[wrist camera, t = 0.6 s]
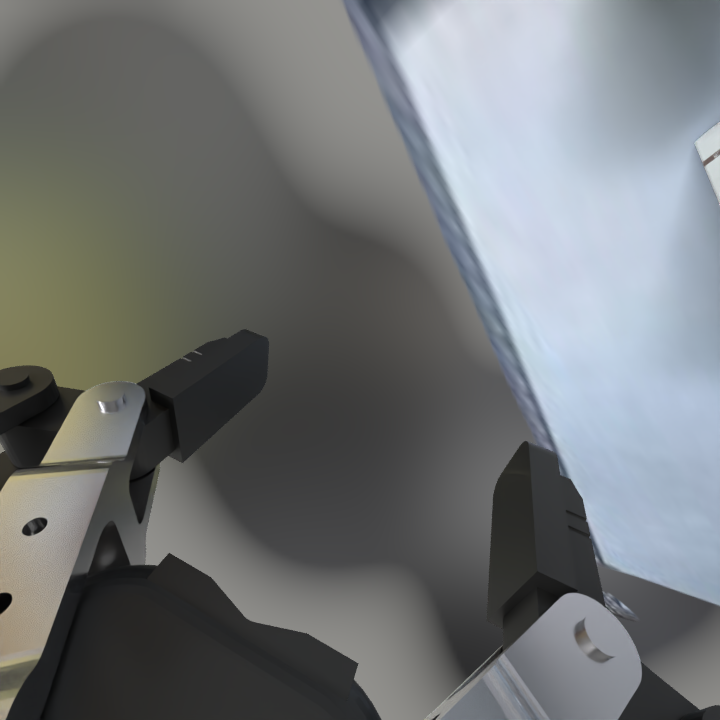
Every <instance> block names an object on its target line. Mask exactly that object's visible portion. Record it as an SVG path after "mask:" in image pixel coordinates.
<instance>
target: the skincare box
mask: <svg viewBox="0 0 720 720" xmlns="http://www.w3.org/2000/svg"><path fill="white" fill-rule="evenodd" d="M695 146H696V149H697V151H698V153H699V156H700V158H701V161H702V163H703V166H704V168H705V171H706V173H707V175H708V178H709V180H710V183H711V185H712V187H713V190H714V192H715V194H716V197H717V199H718V202H719V205H720V122H719V123H717V124H716V125H715V126H713V127H712V128H711V129H709V130H708V131H707V132H706V133H705V134H703V135H702V136H701V137H700V138H699V139H697V141H696V142H695Z"/></svg>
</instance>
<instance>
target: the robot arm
mask: <svg viewBox="0 0 720 720" xmlns="http://www.w3.org/2000/svg"><path fill="white" fill-rule="evenodd" d="M268 353H269V341H268V339H267V338H266V337H264V336H262V335H259V334H257V333H254V332H252V331H249V330H246V329H243V330H241V331H239V332H238V333H236V334H234V335H233V336H231V337H229V338H228V339H227V338H221V339H218V340H215V341H210V342H207V343H206V344H204V345H202V346H200V347H199V348H197V349H195V350H194V352H190V353H188V354H187V355H185V356H183V358H182V359H179V360H176V361H175V362H173V363H171V364H170V365H168V366H166V367H165V368H163V369H161V370H159V371H158V372H156V373H154V374H153V375H151V376H149V377H147V378H146V379H144V380H142V381H141V382H139V383H137V384H135V383H131V382H126V381H114V382H108V383H103V384H100V385H97V386H94V387H92V388H90V389H88V390H86V391H83V390H77V389H70V388H63V387H58V386H57V385H56V382H55V379H54V377H53V374H52V373H51V371H49V370H48V369H46V368H43V367H39V366H16V367H10V368H6V369H2V370H0V443H1V445H2V447H3V448H4V450H5V451H4V452H2V453H1V454H0V720H381V718H380V716H379V714H378V713H377V711H376V709H375V707H374V705H373V703H372V702H371V701H370V699H369V698H368V696H367V695H366V693H365V692H364V691H363V689H362V688H361V687H360V686H359V685H358V684H357V683H356V681H355V680H354V676H355V673H356V669H357V666H358V663H356V662H355V661H353V660H351V659H350V658H348V657H346V656H344V655H343V654H341V653H339V652H337V651H336V650H334V649H332V648H331V647H329V646H327V645H326V644H324V643H322V642H320V641H319V640H317V639H315V638H314V637H312V636H310V635H309V634H307V633H302V632H297V631H293V630H288V629H283V628H278V627H274V626H269V625H264V624H260V623H255V622H252V621H249V620H248V619H246V618H245V617H244V616H243V614H242V613H241V612H240V611H239V610H238V609H237V608H236V606H235V605H234V604H233V603H232V601H231V600H230V599H229V598H228V597H227V596H226V594H225V593H224V592H223V591H222V590H221V589H220V588H219V586H218V585H217V584H216V583H215V581H214V580H213V579H212V578H211V577H209V576H208V575H206V574H204V573H202V572H201V571H199V570H197V569H196V568H194V567H192V566H191V565H189V564H187V563H186V562H184V561H182V560H180V559H179V558H177V557H175V556H173V555H172V554H170V553H169V554H168V555H167V556H166V557H165V558H164V559H163V560H162V562H161V563H160V564H159V565H158V566H156V565H145V561H146V532H147V527H148V522H149V518H150V513H151V509H152V504H153V500H154V495H155V491H156V486H157V481H158V477H159V472H160V462H161V461H162V460H164V459H165V458H166V457H167V456H170V457H172V458H174V459H176V460H178V461H180V462H182V463H183V462H184V461H185V460H186V459H187V458H189V457H190V456H191V455H192V454H193V453H194V452H195V451H196V450H197V449H199V448H200V447H201V446H202V445H203V444H204V443H205V442H206V441H207V440H208V439H210V438H211V437H212V436H213V435H214V434H215V433H216V432H217V431H218V430H219V429H221V428H222V427H223V426H224V425H225V424H226V423H227V422H228V421H229V420H230V419H232V418H233V417H234V416H235V415H236V414H237V413H238V412H239V411H240V410H241V409H243V408H244V407H245V406H246V405H247V404H248V403H249V402H250V401H251V400H252V399H253V398H255V397H256V396H257V395H258V394H259V393H260V392H261V390H262V389H263V387H264V385H265V383H266V379H267V371H268ZM586 519H587V518H586V513H585V509H584V504H583V499H582V498H581V496H580V494H579V493H578V491H577V489H576V488H575V486H574V484H573V483H572V481H571V479H568V478H566V477H563V476H561V475H560V471H559V465H558V458H557V455H556V453H555V452H553V451H550V450H548V449H545V448H543V447H540V446H538V445H535V444H533V443H530V442H528V441H524V442H523V443H522V444H521V445H520V447H519V448H518V450H517V451H516V453H515V454H514V456H513V457H512V459H511V460H510V461H509V463H508V465H507V466H506V468H505V469H504V471H503V472H502V473H501V475H500V477H499V479H498V481H497V483H496V486H495V490H494V494H493V510H492V527H491V528H492V529H491V548H490V566H489V583H488V602H487V603H488V604H487V621H488V622H490V623H492V624H494V625H496V626H498V627H500V628H501V629H503V646H501V647H500V648H499V649H498V650H497V651H496V652H495V653H494V654H493V655H492V656H491V657H489V658H488V659H487V660H486V661H485V662H484V663H483V664H482V665H481V666H480V667H479V668H478V669H477V670H476V671H475V672H474V673H473V674H472V675H471V676H470V677H469V678H468V679H466V680H465V682H463V683H462V685H460V686H459V687H458V688H457V689H456V690H455V691H454V692H453V693H452V694H451V695H450V696H449V697H448V698H447V699H446V700H445V701H443V702H442V703H441V704H440V705H439V706H438V707H437V708H436V709H435V710H434V711H433V712H431V714H429V715H428V716H427V717H426V718H425V719H424V720H720V706H719V705H715V706H711V707H708V708H705V709H702V710H699V709H698V708H697V707H696V706H694V705H693V704H692V703H690V702H689V701H688V700H687V699H685V698H684V697H683V696H682V695H680V694H679V693H678V692H677V691H676V690H674V689H673V688H672V687H671V686H670V685H668V684H667V683H666V682H664V681H663V680H662V679H661V678H660V677H658V676H657V675H656V674H655V673H653V672H652V671H651V670H650V669H649V668H648V667H646V666H645V665H644V664H643V663H642V662H641V661H640V657H639V655H638V652H637V649H636V647H635V645H634V643H633V641H632V639H631V638H630V636H629V634H628V632H627V631H626V630H625V628H624V627H623V626H622V624H621V623H620V622H619V621H618V619H616V617H615V616H614V615H613V614H612V613H611V612H610V611H609V610H608V609H606V606H605V602H604V597H603V593H602V588H601V583H600V579H599V575H598V569H597V565H596V560H595V555H594V551H593V546H592V541H591V539H590V538H589V536H590V532H589V527H588V523H587V522H586Z"/></svg>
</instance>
